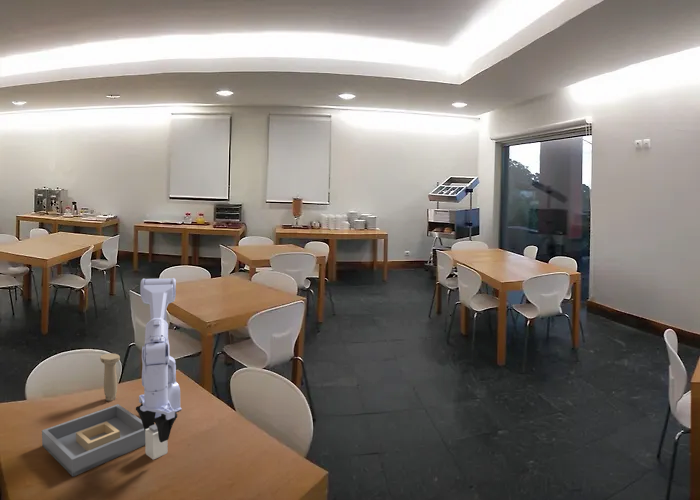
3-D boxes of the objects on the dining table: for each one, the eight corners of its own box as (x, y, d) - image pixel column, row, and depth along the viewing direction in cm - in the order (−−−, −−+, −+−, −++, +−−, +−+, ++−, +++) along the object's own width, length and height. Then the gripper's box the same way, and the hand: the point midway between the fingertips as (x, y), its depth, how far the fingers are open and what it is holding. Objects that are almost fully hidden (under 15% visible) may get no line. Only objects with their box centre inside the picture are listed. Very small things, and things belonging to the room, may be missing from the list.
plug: (159, 447, 117) (159, 420, 116) (167, 453, 114) (167, 425, 114) (145, 453, 114) (145, 426, 113) (153, 459, 111) (153, 432, 110)
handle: (110, 404, 139) (109, 360, 137) (97, 399, 142) (96, 356, 140) (123, 398, 143) (122, 356, 141) (111, 394, 146) (110, 352, 144)
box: (118, 417, 131) (118, 404, 130) (152, 441, 119) (152, 426, 119) (42, 445, 115) (41, 430, 114) (72, 476, 103) (72, 459, 103)
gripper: (127, 383, 113) (128, 431, 114) (156, 400, 104) (156, 452, 106) (152, 375, 119) (153, 421, 120) (182, 391, 110) (182, 440, 111)
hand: (156, 435), depth 113 cm, fingers open, 7 cm apart
